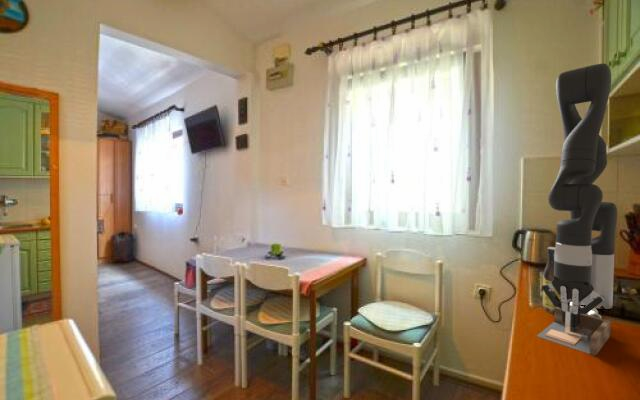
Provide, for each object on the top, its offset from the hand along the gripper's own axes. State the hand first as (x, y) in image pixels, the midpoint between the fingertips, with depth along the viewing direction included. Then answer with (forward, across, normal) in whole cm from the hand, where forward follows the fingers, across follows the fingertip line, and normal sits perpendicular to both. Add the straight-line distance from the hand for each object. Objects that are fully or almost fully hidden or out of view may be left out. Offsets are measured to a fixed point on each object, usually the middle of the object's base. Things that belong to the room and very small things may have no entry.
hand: (570, 325), depth 80 cm
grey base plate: (+2, -1, +3) cm, 4 cm away
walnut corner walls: (+2, -1, +3) cm, 4 cm away
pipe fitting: (+3, -1, -14) cm, 15 cm away
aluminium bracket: (+2, -2, 0) cm, 2 cm away
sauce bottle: (+2, +7, -12) cm, 14 cm away
